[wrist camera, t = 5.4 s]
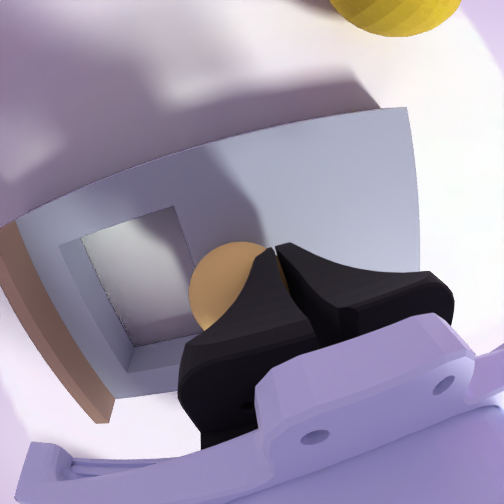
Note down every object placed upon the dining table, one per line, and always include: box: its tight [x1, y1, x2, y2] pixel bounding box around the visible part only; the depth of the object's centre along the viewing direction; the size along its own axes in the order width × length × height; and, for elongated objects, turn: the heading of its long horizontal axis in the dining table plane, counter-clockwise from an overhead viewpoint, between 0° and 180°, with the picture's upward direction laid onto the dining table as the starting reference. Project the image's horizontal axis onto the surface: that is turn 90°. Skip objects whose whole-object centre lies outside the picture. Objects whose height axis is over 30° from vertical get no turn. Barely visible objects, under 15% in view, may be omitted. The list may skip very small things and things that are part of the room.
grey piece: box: [0, 107, 420, 424], centre depth 14 cm, size 12×20×4 cm, turn 104°
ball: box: [189, 242, 290, 331], centre depth 12 cm, size 4×4×4 cm
